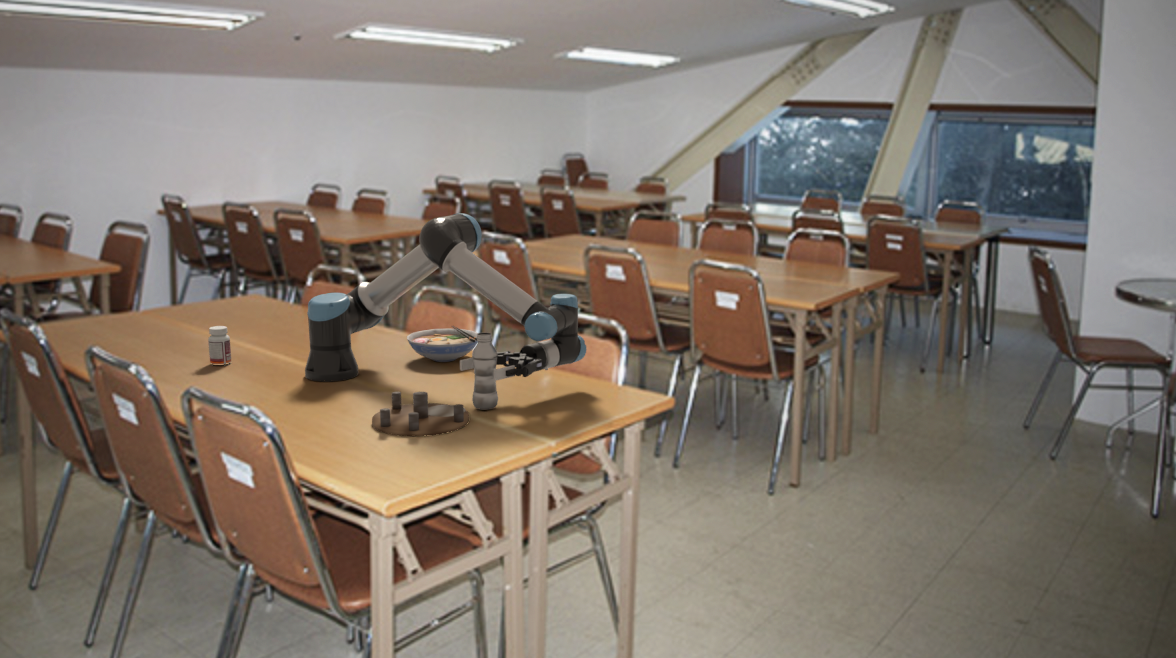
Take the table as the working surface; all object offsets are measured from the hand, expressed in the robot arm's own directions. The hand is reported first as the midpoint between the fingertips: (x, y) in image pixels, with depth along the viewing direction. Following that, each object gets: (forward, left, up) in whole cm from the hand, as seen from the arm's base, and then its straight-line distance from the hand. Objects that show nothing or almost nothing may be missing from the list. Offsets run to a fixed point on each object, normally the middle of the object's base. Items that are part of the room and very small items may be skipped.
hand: (477, 370), depth 262 cm
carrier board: (-13, -9, -11) cm, 19 cm away
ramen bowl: (-16, +55, -11) cm, 58 cm away
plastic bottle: (+2, +2, -11) cm, 11 cm away
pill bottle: (-83, +48, -11) cm, 97 cm away
